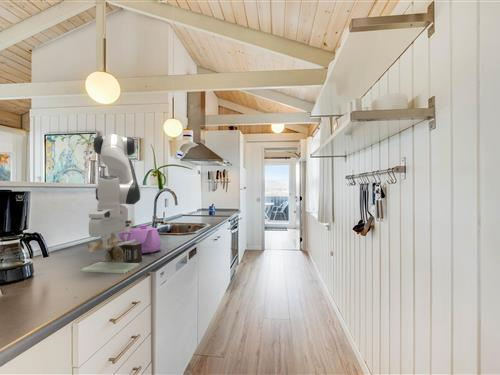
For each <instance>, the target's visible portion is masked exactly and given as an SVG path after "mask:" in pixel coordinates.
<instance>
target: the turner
mask: <svg viewBox="0 0 500 375" xmlns="http://www.w3.org/2000/svg"><path fill="white" fill-rule="evenodd" d="M107 240H109V244H108V245H103V240H102V239H101V240H97V241H93V242H89V243H87V247H88V252H89V253H93V252H94V253H95V252H97V251H101V250H106V248H112V247H116V246H120V245H124V244H128V243H131V242H134V241H136V240H135V239H134V240H130V241H125V242H121V243H118V244H117V240H116V237H112V238H108V239H107Z"/></svg>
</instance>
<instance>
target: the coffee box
mask: <svg viewBox="0 0 500 375" xmlns="http://www.w3.org/2000/svg"><path fill="white" fill-rule="evenodd" d="M121 242H123V241H117V244H118V243H121ZM105 262H113V263H141V262H143V253H142V243H136V242H131V243H128V244H124V245H120V246H116V247H112V248H106V249H105Z"/></svg>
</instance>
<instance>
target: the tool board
mask: <svg viewBox="0 0 500 375" xmlns="http://www.w3.org/2000/svg"><path fill="white" fill-rule="evenodd" d="M139 266H140V262H138V263H113V262H106V261H98V262H95V263H93V264H91V265H89V266H88V265H87V266H85V267H83V268H80V273H101V274H102V273H106V274H127V273H129V272H130V271H133V270H134V269H136V268H137V267H139ZM128 271H129V272H128ZM126 272H127V273H126Z"/></svg>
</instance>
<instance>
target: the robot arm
mask: <svg viewBox="0 0 500 375" xmlns="http://www.w3.org/2000/svg"><path fill="white" fill-rule="evenodd" d="M92 148H93V150H94V152H95V153H96V154H97V155H100V160H101V162H102V163H103V164H104V165H105V167H107V174H108V175H102V176H99V178H98V184H97V185H96V187H95V191H94V193H95V200H96V201H98V203H97V208H96V209H94V210H92V211H91V212H89V213H88V218H89V221H88V235H89V236H90V238H99V237H100V238H101V240H103V245H108V244H109V240H107V239H108V238H112V237H116V240H117V241H122V240H121V239H120V237H119V233H120V232H124V231H127V232H130V230H131V229H133V228H132V227H131V225H130V224H133V223H132V220H129V209H128V208H127V207H126V205H135V204H136V203H138V202H139V201H140V200H141V193H142V192H141V187H140V185H139V184H138V180H137V179H138V178H137V176H136V172H135V168H134V164H133V162H132V160H131V159H130V158H128V157H127V156H132V155H134V154H136V150H137V142H136V141H135V139H134V138H133V137H131V136H130V137H129V136H120V135H119V134H116V133H110V134H107V135H97V136H95V137H94V139H93V141H92ZM127 236H128V234H124V238H125V240H127Z"/></svg>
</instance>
